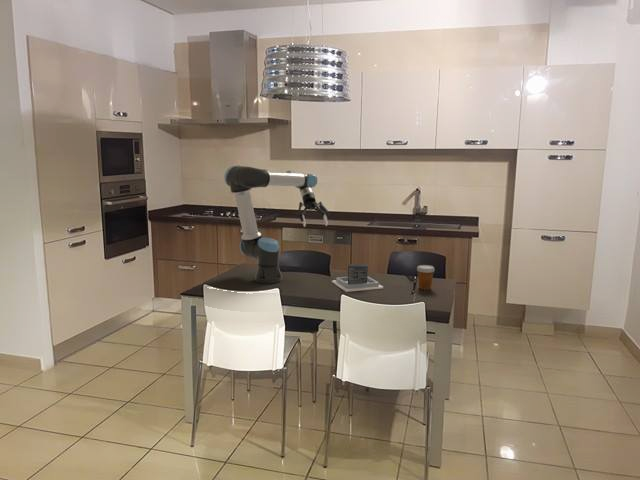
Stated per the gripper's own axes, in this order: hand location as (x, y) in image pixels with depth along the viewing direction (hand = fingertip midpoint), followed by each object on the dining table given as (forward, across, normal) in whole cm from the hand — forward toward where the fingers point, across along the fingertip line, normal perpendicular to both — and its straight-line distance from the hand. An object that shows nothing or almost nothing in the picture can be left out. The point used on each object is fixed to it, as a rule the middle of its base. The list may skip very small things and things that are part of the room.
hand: (316, 225), depth 298 cm
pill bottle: (+53, -47, +11) cm, 72 cm away
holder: (+42, -14, 0) cm, 44 cm away
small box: (+42, -14, +1) cm, 44 cm away
